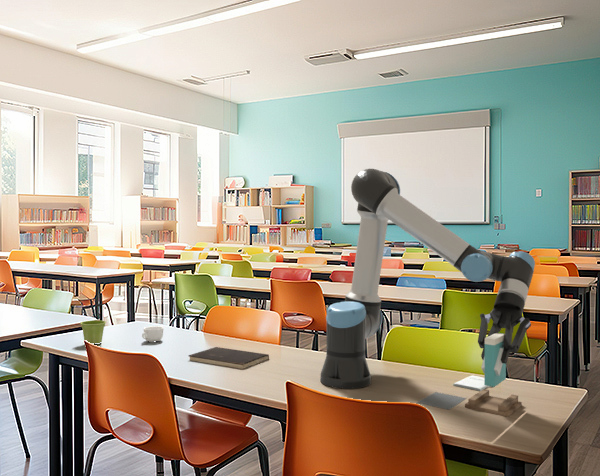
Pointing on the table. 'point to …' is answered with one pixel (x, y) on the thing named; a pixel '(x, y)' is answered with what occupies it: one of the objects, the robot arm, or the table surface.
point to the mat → (441, 400)
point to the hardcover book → (229, 357)
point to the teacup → (153, 333)
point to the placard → (493, 359)
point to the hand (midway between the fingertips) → (490, 371)
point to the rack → (493, 403)
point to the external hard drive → (472, 383)
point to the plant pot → (93, 330)
